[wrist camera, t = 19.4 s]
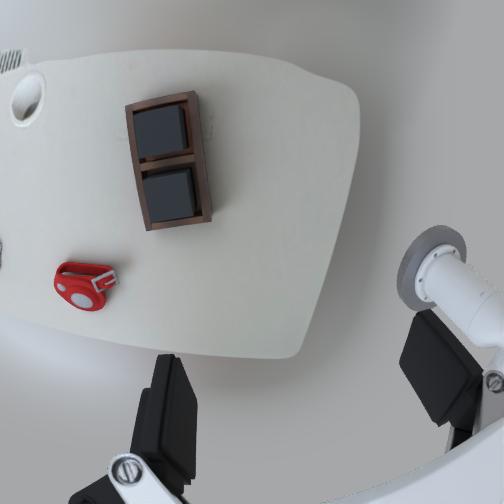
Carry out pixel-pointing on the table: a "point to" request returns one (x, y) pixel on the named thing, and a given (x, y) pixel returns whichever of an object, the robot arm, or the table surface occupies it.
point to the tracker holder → (84, 284)
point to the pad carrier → (172, 158)
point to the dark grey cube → (170, 194)
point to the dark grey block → (161, 131)
